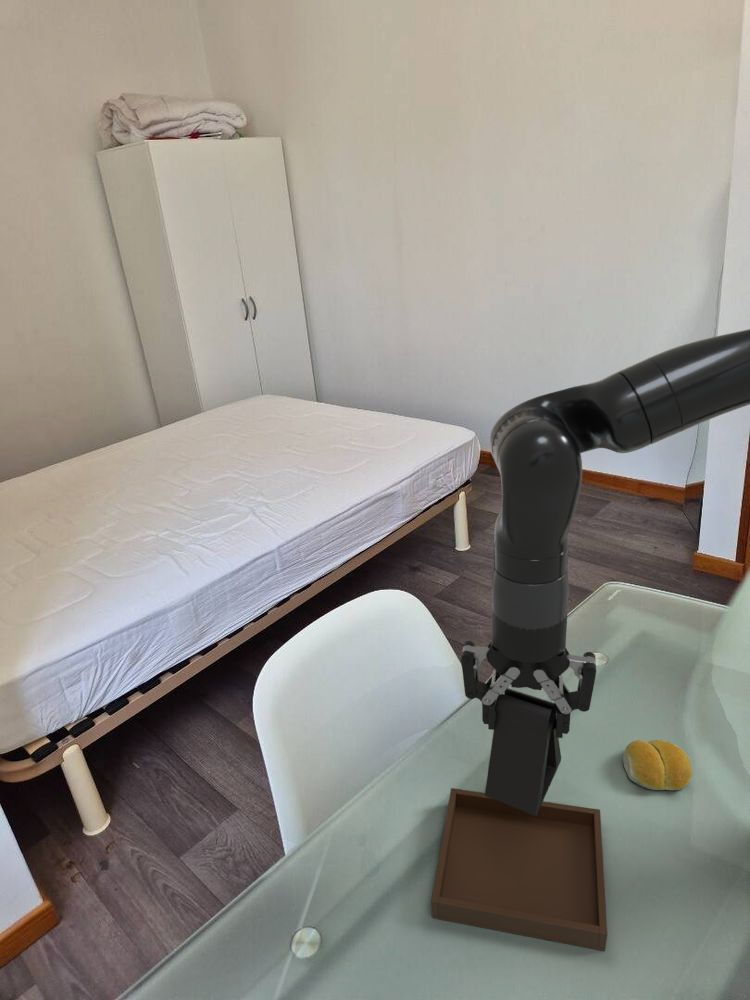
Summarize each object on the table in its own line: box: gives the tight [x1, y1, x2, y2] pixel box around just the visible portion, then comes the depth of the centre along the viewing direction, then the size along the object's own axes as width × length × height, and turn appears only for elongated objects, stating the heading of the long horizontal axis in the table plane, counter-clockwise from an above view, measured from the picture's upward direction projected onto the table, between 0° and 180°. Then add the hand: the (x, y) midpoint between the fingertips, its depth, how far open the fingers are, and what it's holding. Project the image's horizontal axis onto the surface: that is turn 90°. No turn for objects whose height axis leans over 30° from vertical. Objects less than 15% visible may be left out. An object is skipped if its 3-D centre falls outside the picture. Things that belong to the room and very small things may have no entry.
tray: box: [430, 787, 608, 952], centre depth 86 cm, size 20×17×3 cm
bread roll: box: [622, 739, 693, 791], centre depth 98 cm, size 8×9×4 cm
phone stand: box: [484, 687, 562, 816], centre depth 77 cm, size 9×6×12 cm, turn 148°
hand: (525, 728), depth 76 cm, fingers closed on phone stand, 6 cm apart
